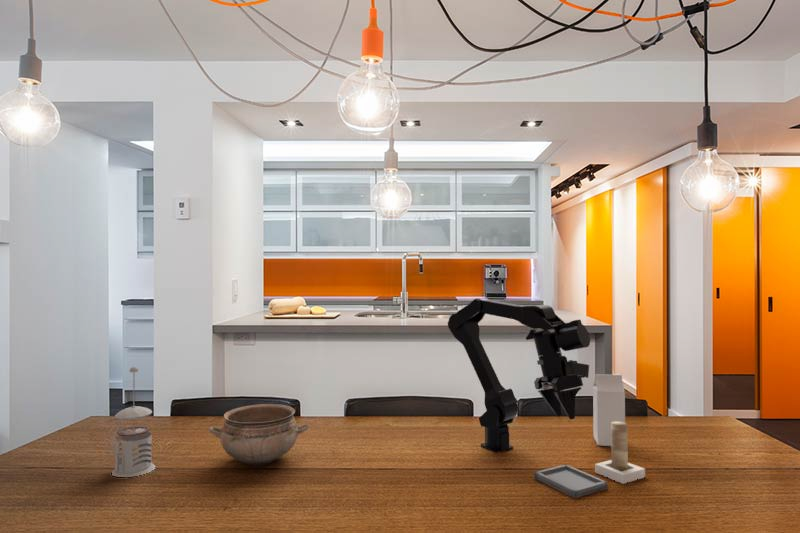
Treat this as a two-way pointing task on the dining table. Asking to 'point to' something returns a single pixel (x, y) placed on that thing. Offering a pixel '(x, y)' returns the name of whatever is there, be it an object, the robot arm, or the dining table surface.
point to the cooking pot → (259, 433)
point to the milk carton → (607, 406)
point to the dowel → (619, 446)
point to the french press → (132, 443)
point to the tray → (571, 481)
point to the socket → (622, 477)
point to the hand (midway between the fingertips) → (565, 417)
